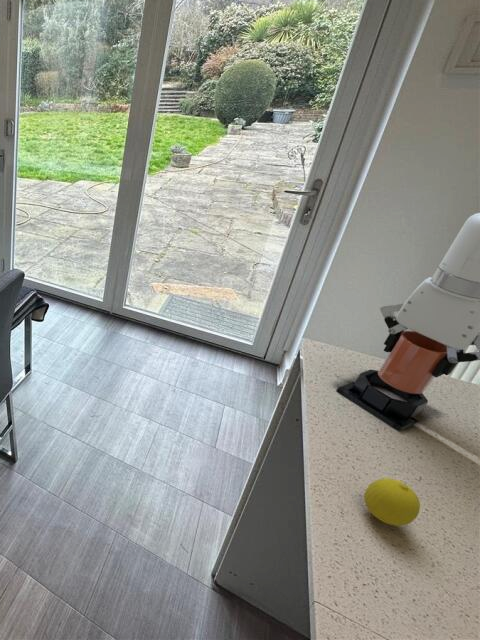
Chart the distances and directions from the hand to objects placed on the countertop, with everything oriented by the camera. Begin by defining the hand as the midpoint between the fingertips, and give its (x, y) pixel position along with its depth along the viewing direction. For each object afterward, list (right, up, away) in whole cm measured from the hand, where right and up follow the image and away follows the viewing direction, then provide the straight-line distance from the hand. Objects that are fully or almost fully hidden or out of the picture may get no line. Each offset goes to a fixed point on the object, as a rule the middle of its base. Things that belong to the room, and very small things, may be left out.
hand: (413, 361), depth 79 cm
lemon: (-23, -20, -16) cm, 34 cm away
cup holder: (-1, -10, +5) cm, 11 cm away
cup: (0, -5, +2) cm, 5 cm away
